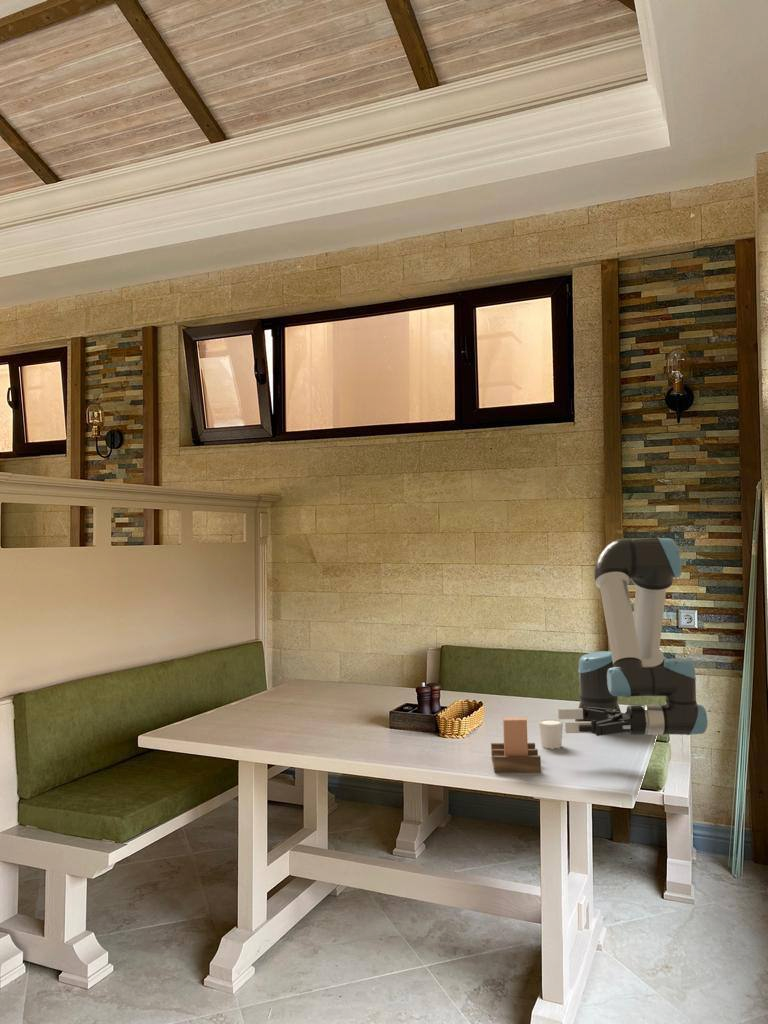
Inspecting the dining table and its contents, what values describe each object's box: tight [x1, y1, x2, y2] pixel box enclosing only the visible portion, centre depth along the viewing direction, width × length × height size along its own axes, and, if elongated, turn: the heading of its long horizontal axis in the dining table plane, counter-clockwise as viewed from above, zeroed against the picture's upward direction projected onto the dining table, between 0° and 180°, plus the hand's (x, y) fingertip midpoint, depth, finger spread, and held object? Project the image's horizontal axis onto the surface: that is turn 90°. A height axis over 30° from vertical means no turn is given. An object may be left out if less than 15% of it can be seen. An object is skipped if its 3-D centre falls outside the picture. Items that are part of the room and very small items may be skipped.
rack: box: [490, 742, 542, 773], centre depth 211 cm, size 14×12×4 cm
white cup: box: [538, 719, 564, 750], centre depth 228 cm, size 7×7×7 cm
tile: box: [502, 716, 529, 756], centre depth 208 cm, size 3×6×12 cm, turn 85°
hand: (561, 720), depth 208 cm, fingers open, 13 cm apart
